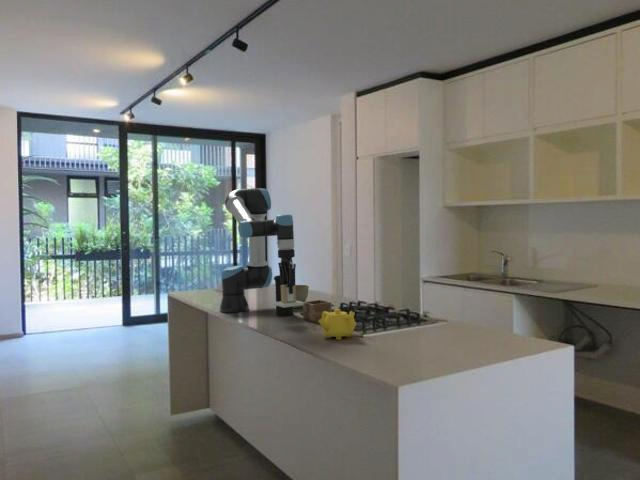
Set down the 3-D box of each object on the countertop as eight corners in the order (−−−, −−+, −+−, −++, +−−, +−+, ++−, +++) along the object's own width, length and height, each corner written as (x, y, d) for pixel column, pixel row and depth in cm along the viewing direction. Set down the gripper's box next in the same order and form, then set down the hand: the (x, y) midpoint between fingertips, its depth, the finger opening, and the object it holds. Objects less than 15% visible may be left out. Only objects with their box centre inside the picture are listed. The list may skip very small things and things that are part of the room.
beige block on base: (274, 304, 243) (273, 284, 242) (293, 302, 248) (292, 282, 247) (283, 307, 234) (282, 286, 234) (303, 304, 239) (302, 284, 238)
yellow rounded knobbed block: (339, 329, 225) (338, 303, 225) (371, 334, 213) (370, 307, 212) (304, 338, 211) (303, 311, 211) (337, 345, 199) (336, 315, 198)
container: (293, 316, 260) (291, 275, 259) (274, 316, 260) (272, 276, 259) (294, 312, 269) (292, 273, 268) (276, 313, 269) (274, 274, 268)
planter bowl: (296, 303, 297) (295, 284, 297) (315, 306, 286) (314, 285, 285) (273, 307, 287) (272, 287, 286) (292, 310, 275) (291, 289, 274)
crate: (303, 319, 251) (302, 302, 251) (321, 316, 256) (320, 299, 256) (313, 322, 243) (312, 304, 242) (332, 319, 248) (331, 302, 247)
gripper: (271, 248, 245) (273, 299, 246) (286, 250, 231) (289, 303, 232) (285, 247, 249) (288, 297, 250) (301, 248, 235) (304, 301, 236)
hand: (288, 300), depth 241 cm, fingers closed on beige block on base, 3 cm apart
